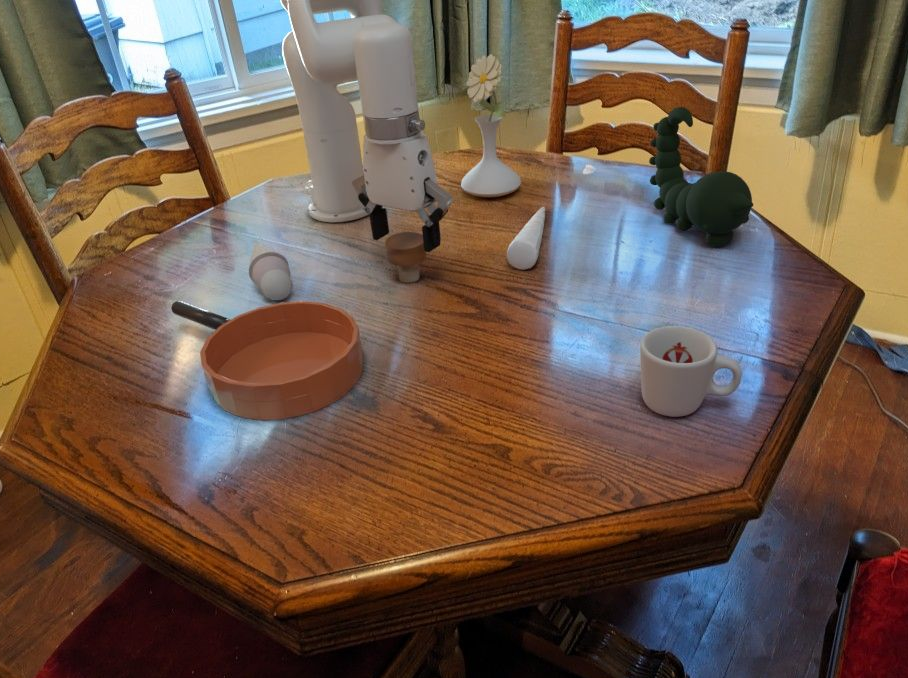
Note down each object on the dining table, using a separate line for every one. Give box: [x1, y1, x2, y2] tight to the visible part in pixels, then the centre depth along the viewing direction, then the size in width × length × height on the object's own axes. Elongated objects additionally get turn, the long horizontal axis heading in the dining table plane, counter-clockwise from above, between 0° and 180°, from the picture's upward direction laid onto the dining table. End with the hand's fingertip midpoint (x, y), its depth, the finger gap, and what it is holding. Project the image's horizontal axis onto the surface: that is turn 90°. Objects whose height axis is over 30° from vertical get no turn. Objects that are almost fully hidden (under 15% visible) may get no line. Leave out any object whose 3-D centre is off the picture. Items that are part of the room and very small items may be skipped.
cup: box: [639, 325, 742, 418], centre depth 80 cm, size 11×8×8 cm
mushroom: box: [384, 231, 428, 284], centre depth 110 cm, size 6×6×6 cm
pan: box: [199, 300, 364, 421], centre depth 92 cm, size 19×19×5 cm
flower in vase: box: [460, 53, 522, 198], centre depth 131 cm, size 13×11×25 cm
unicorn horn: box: [506, 206, 546, 271], centre depth 119 cm, size 5×24×5 cm, turn 163°
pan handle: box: [170, 300, 232, 331], centre depth 98 cm, size 12×2×2 cm, turn 55°
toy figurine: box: [648, 106, 754, 247], centre depth 114 cm, size 9×19×25 cm
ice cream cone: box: [248, 240, 293, 301], centre depth 111 cm, size 6×6×15 cm
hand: (406, 242), depth 108 cm, fingers open, 9 cm apart
